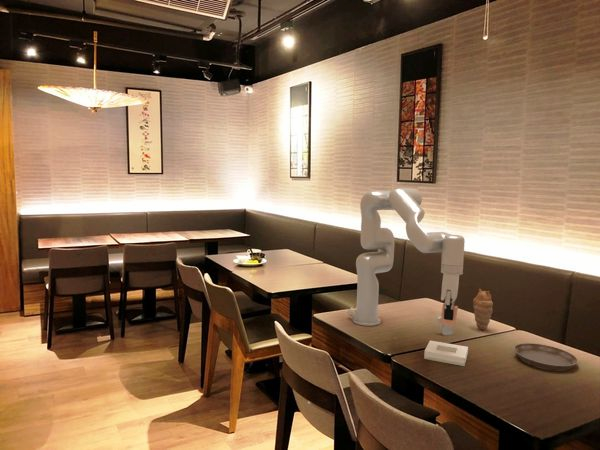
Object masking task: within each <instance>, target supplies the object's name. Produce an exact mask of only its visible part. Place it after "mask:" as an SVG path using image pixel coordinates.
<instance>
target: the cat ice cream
mask: <svg viewBox="0 0 600 450" xmlns="http://www.w3.org/2000/svg"><path fill="white" fill-rule="evenodd" d="M472 305H473V310H474V311H473V314H474V321H475V322H476V327H477V329H479V330H481V331H485V330H487V329H488V328H489V325H490V321H491V319H492V314H493V307H494V303H493V301H492V294H491V293H490V291H489V290H488V291H487V290H482V289H481V288H479V289H478V293H477V295H476V297H474V298H473V304H472Z"/></svg>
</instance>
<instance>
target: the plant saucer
mask: <svg viewBox="0 0 600 450" xmlns="http://www.w3.org/2000/svg"><path fill="white" fill-rule="evenodd" d="M513 349H514V352H515V354H516V356H518V358H519V359H520V360H521V361H522V362H524V363H526V364H527V365H530V366H532V367H535V368H536V369H537V368H538V369H542V370H546V371H552V372H553V371H554V372H555V371H556V372H559V371H560V372H562V371H567V370H570V369H572V368H573V367H575V366H576V365H577V364H578V362H579V361H578V360H579V359H578V358H577V357H576V356H575V355H574V354H573V353H570V352H568V351H566V350H564V349H561V348H558V347H555V346H550V345H546V344H540V343H529V342H527V343H526V342H524V343H520V344H515V346H514V347H513Z"/></svg>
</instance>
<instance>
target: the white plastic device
mask: <svg viewBox="0 0 600 450" xmlns="http://www.w3.org/2000/svg"><path fill="white" fill-rule="evenodd" d="M436 319H437V321H438V325H439V326H440V327H442V331H441V332H442V333H441V335H442V336H451V335H452V336H453V334H454V327H452V326H448V325H443V324H440V322H441V315H439V316H437V317H436Z"/></svg>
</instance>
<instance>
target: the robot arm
mask: <svg viewBox="0 0 600 450" xmlns="http://www.w3.org/2000/svg"><path fill="white" fill-rule="evenodd" d="M422 197H423V196H422V194H421V192H420V191H419V190H418V189H416V188H413V187H397V188H394V189H392V190H381V189H379V190H378V189H377V190H370V191H367V192H365V193H364V194H363V195H362V197H361V199H360V206H359V207H360V215H361V221H360V222H361V223H360V245H361V247H362V249H364V250H366V251H367V250H369V252H363V253H360V254H359V255H358V256H357V257H356V261H355V268H356V276H357V282H356V283H357V289H356V309H355V310H351V309H348V310H347V315H348V316H353V317H352V322H353V323H355V325H356V324H357V325H360V326H365V327H373V326H379V325H380V324H381V323H382V321H381V318H380V317H378V311H379V291H380V289H379V287H380V286H379V285H380V284H379V283H380V282H379V279H378V278H377V276H376V274H381V273H386V272H389V271H390V270H391V269H392V268H393V265H394V259H395V258H394V257H395V236H394V233H393V231H392V230H391V229H389V228H387V227H382V226H381V225H382V224H381V223H382V219H381V215H380V213H379V212H378V211H395V212H396V213H397V214H398V215H399V216H400V218H401V219H402V220H403V221H404V223H405V232H406V235H407V238H408V241H410V242H411V244H412V245H413V246H414V248H416V249H417V251H419V252H421V253H423V254H430V253H431V254H432V253H441V263H440V264H441V266H440V273H441V274H443V275H442V283H441V292H440V293H441V295H440V300H441V301H444V304H445V308H444V319H446V320H453V313H454V309H453V305H454V306H456V305H455V302H456V300H457V298H458V292H459V285H460V284H459V283H460V281H459V280H460V276H461V275H463V274H464V272H463V270H464V257H465V255H464V253H465V237H464V236H462V235H459V234H452V233H451V234H450V233H448V232H446V231H445V232H444V231H434V232H433V231H431V232H426V231H425V230H424V229H423V228H422V227H421V225H420V223H421V221H422V220H423V219H424V217H425V210H424V209H423V208H422V206H421V204H422V203H423V202H422V201H423V198H422ZM372 250H374V251H372ZM375 250H377V251H375ZM371 251H372V252H371Z"/></svg>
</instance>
